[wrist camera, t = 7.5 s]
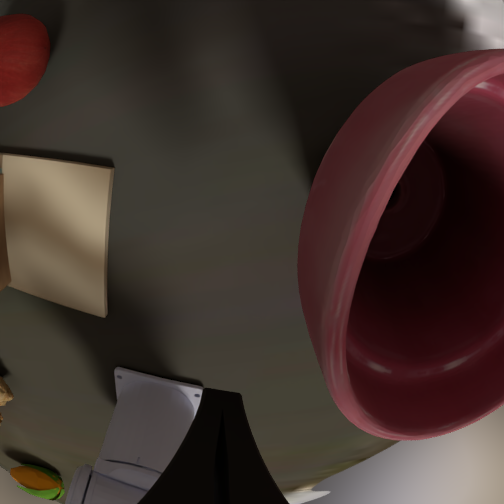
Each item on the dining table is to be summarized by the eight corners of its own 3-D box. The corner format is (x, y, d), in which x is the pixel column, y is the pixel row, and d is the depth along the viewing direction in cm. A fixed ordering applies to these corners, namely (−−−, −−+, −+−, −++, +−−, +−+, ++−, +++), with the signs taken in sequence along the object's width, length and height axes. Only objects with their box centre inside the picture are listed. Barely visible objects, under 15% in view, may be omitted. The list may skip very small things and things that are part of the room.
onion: (3, 101, 14) (-78, 111, 7) (25, 26, 12) (-51, 11, 5) (59, 108, 15) (-29, 117, 8) (85, 25, 13) (8, -6, 5)
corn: (68, 511, 32) (18, 494, 35) (78, 483, 39) (28, 472, 42) (40, 492, 30) (-5, 475, 32) (53, 463, 37) (7, 453, 39)
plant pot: (487, 136, 16) (629, 183, 4) (420, 302, 21) (505, 424, 10) (310, 43, 14) (425, -67, 2) (244, 261, 20) (245, 446, 8)
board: (107, 313, 21) (104, 318, 21) (-45, 258, 19) (-49, 261, 18) (114, 167, 17) (110, 169, 16) (-54, 148, 15) (-58, 149, 14)
